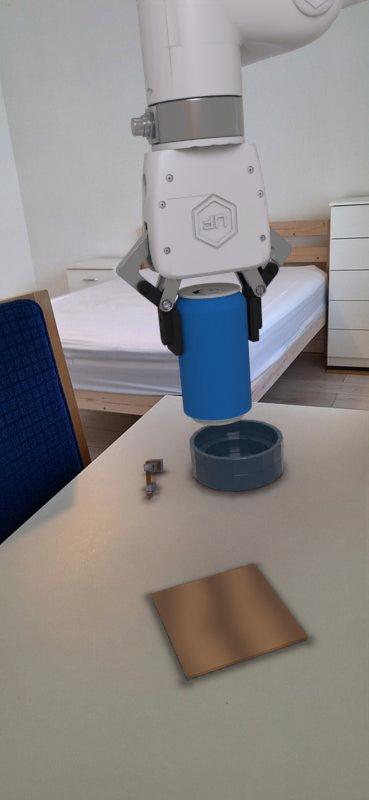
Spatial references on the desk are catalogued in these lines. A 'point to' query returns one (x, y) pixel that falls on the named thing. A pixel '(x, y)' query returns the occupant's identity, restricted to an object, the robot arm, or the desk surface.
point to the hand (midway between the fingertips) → (212, 343)
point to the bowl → (237, 455)
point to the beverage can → (214, 353)
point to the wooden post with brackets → (149, 467)
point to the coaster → (225, 620)
